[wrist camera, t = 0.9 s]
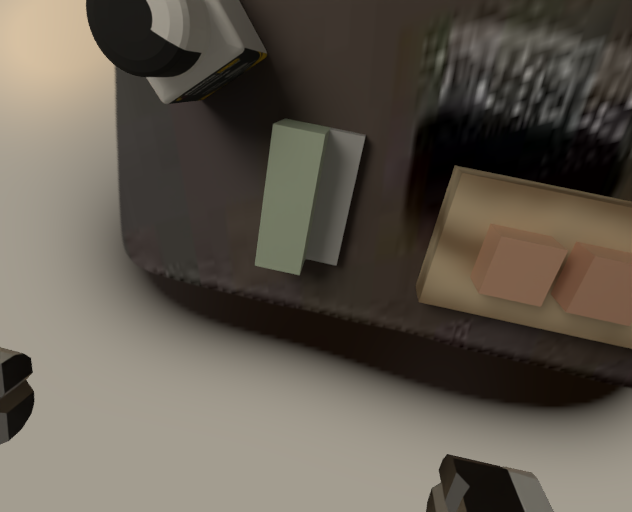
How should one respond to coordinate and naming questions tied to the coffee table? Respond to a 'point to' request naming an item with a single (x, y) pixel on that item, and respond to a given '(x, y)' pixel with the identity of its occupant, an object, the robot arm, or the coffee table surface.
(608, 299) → the tile
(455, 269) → the board
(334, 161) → the grey-green boxy piece
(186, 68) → the medicine bottle
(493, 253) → the tile
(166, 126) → the coffee table surface
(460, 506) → the robot arm
